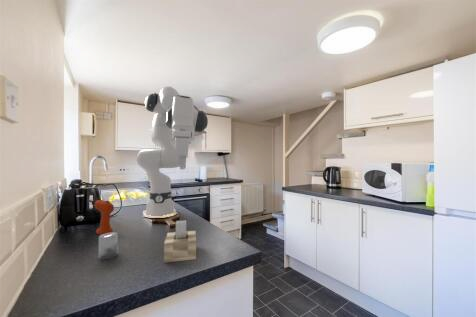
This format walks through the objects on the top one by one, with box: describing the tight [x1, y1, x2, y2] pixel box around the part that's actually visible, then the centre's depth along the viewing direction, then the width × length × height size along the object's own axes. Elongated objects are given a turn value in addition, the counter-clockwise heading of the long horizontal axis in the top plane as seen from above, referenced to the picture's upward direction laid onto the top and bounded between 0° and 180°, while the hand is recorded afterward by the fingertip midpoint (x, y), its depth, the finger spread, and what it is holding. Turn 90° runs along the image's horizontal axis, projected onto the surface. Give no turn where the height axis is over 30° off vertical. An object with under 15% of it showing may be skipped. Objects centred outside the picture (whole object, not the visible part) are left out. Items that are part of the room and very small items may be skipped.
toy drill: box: [86, 199, 115, 235], centre depth 92 cm, size 5×19×15 cm, turn 65°
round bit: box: [98, 231, 119, 261], centre depth 68 cm, size 6×6×7 cm
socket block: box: [163, 230, 197, 264], centre depth 70 cm, size 10×10×6 cm
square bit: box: [175, 219, 187, 239], centre depth 70 cm, size 3×3×10 cm
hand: (182, 168), depth 82 cm, fingers open, 8 cm apart
